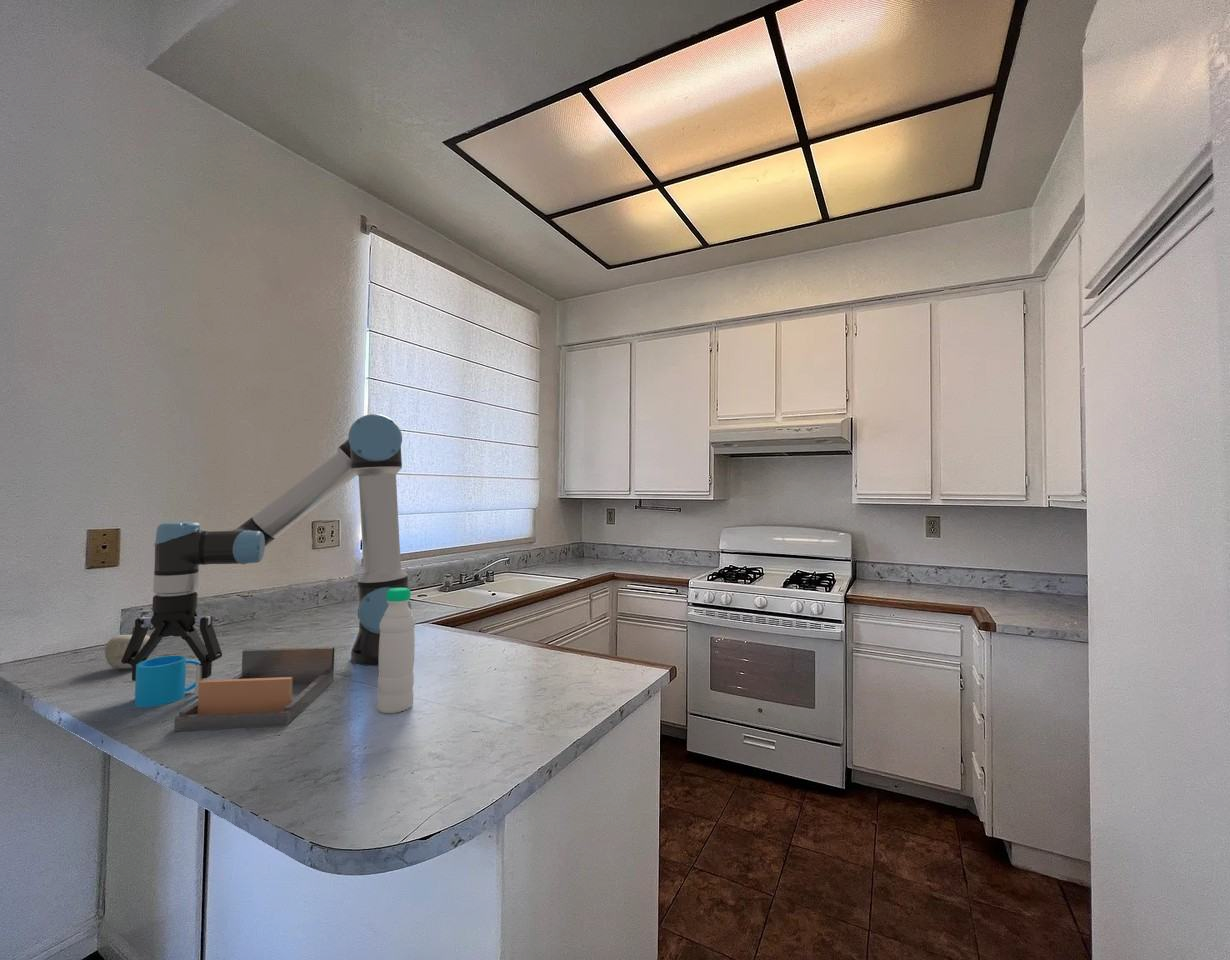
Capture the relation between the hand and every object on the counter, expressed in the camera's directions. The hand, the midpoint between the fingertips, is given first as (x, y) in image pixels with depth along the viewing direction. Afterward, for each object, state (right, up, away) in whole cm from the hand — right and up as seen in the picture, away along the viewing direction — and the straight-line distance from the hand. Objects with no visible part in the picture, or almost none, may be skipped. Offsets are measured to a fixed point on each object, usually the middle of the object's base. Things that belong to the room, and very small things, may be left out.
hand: (171, 694), depth 113 cm
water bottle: (+50, -2, -4) cm, 50 cm away
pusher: (+23, 0, -8) cm, 24 cm away
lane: (+22, -1, -2) cm, 22 cm away
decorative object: (-25, -1, +17) cm, 30 cm away
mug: (0, -1, 0) cm, 1 cm away
